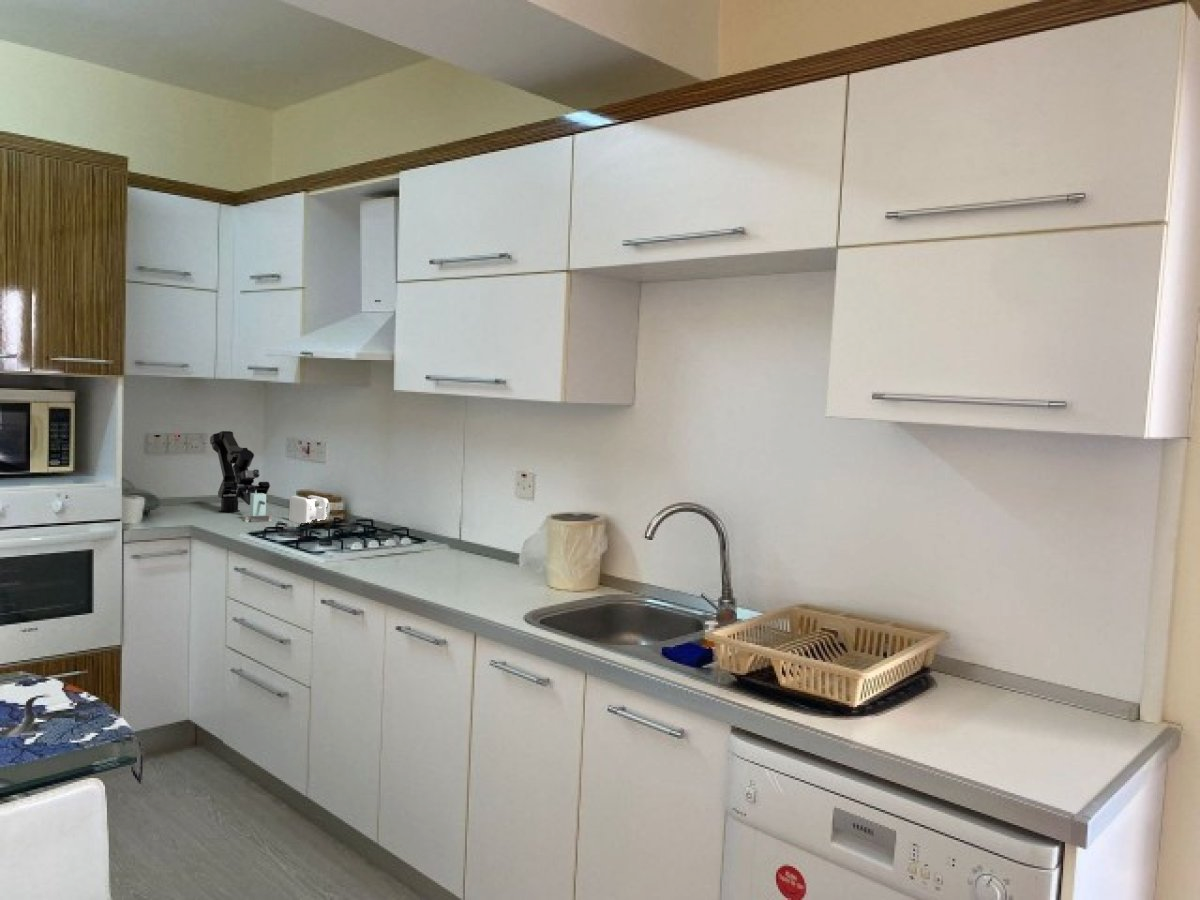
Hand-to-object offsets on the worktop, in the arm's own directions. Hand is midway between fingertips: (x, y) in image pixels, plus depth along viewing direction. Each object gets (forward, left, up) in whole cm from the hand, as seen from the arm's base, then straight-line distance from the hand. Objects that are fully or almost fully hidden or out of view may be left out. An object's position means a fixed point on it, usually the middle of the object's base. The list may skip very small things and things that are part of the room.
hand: (249, 504), depth 365 cm
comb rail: (+6, -3, -7) cm, 9 cm away
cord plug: (+12, -7, -5) cm, 15 cm away
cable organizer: (+25, +6, -7) cm, 27 cm away
